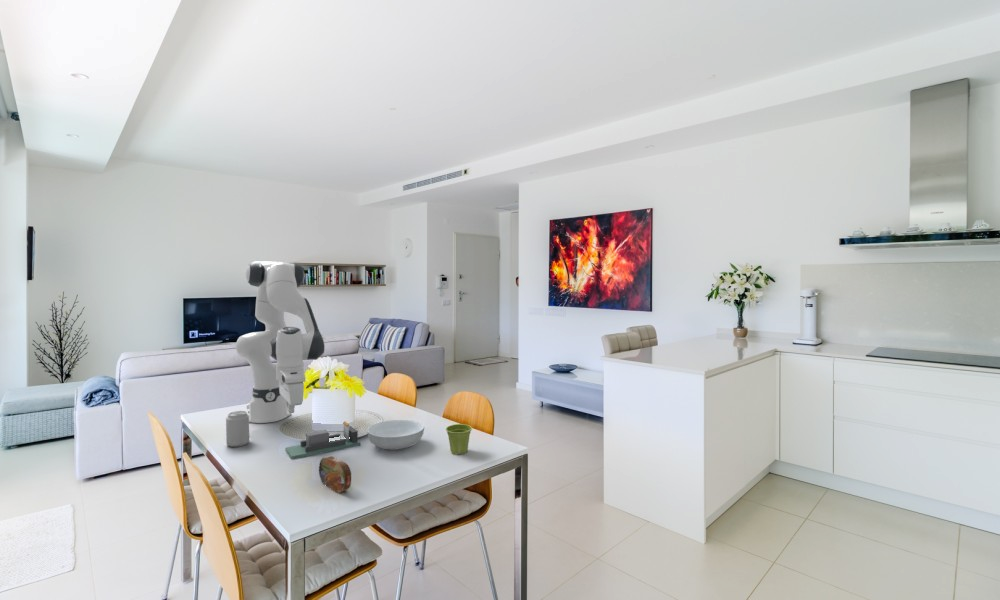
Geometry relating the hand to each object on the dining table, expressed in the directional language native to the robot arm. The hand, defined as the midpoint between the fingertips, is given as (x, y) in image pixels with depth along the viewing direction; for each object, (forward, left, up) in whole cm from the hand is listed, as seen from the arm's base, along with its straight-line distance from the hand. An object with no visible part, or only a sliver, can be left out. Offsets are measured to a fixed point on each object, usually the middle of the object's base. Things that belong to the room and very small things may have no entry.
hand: (290, 412), depth 163 cm
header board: (0, +11, -15) cm, 19 cm away
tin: (+35, +5, -15) cm, 39 cm away
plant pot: (+32, +50, -15) cm, 61 cm away
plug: (0, +9, -14) cm, 17 cm away
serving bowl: (+13, +34, -15) cm, 40 cm away
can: (-22, -14, -15) cm, 30 cm away
